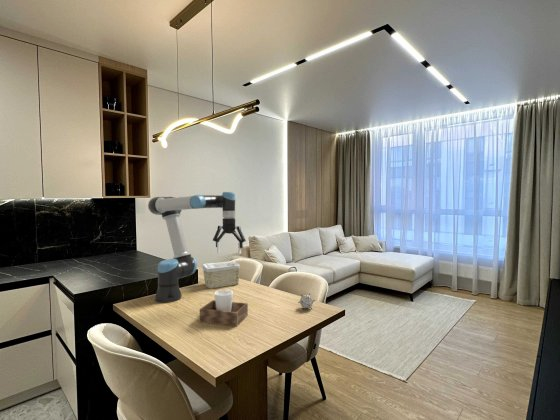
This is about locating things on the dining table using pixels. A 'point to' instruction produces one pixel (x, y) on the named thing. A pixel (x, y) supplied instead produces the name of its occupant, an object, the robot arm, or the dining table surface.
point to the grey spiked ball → (306, 301)
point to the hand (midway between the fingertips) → (229, 253)
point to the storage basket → (221, 274)
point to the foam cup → (223, 300)
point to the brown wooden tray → (224, 314)
